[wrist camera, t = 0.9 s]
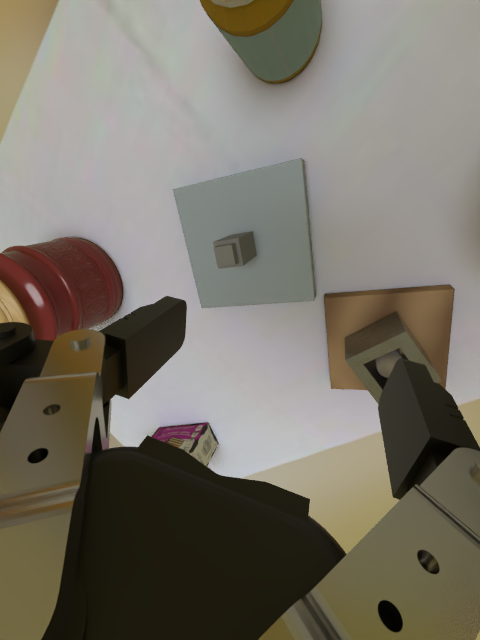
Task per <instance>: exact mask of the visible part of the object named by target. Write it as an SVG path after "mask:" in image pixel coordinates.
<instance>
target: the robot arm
mask: <svg viewBox="0 0 480 640" xmlns="http://www.w3.org/2000/svg"><path fill="white" fill-rule="evenodd" d="M186 310H187V305H186V302H185V301H184V300H181V299H177V298H173V297H169V296H166V297H164V298H162V299H161V300H159V301H157V302H156V303H154V304H151V305H147V306H143V307H140V308H138V309H136V310H135V311H133V312H131V314H128V315H126V316H124V317H123V318H121V319H119V320H117V321H116V322H114V323H112V324H111V325H109V326H107V327H106V328H104V329H102V330H100V331H99V332H98V331H95V330H89V329H81V330H74V331H70V332H67V333H64V334H62V335H60V336H59V337H57V338H56V339H55V340H54V341H51V340H40V339H35V338H34V334H33V329H32V327H31V326H30V325H29V324H26V323H22V322H5V323H0V640H475V639H476V637H477V634H478V633H479V631H480V447H479V446H478V444H477V442H476V440H475V438H474V436H473V434H472V432H471V431H470V429H469V427H468V425H467V423H466V421H465V420H463V416H462V414H461V412H460V410H458V406H457V405H456V403H455V401H454V399H453V397H452V395H450V394H449V393H448V392H447V391H446V390H445V389H444V388H443V387H442V386H441V385H440V384H439V383H435V382H433V379H432V377H431V375H430V373H429V371H428V369H427V367H426V365H424V364H420V363H417V362H413V361H409V360H405V359H402V358H400V359H398V360H397V362H396V363H395V365H394V367H393V369H392V372H391V374H390V376H389V378H388V380H387V382H386V385H385V387H384V389H383V391H382V393H381V396H380V400H379V406H378V411H379V417H380V423H381V429H382V435H383V441H384V447H385V453H386V459H387V465H388V471H389V476H390V483H391V489H392V495H393V497H394V498H397V499H399V500H400V501H399V502H398V503H397V504H396V505H395V506H394V507H393V508H392V509H391V510H390V511H389V512H388V513H387V514H386V515H385V516H384V517H383V518H382V519H381V520H380V521H379V522H378V523H377V524H376V525H375V527H373V528H372V529H371V530H370V531H369V532H368V533H367V534H366V535H365V536H364V538H363V539H361V540H360V541H359V543H358V544H357V545H356V546H355V547H354V548H353V549H352V550H351V551H350V552H349V553H348V554H346V553H345V551H344V550H343V549H342V548H341V547H340V545H339V544H338V543H337V541H336V540H335V539H334V538H333V537H332V536H331V535H330V534H329V533H328V532H327V531H326V529H324V528H323V527H322V526H321V525H320V524H319V523H317V522H316V521H315V520H314V519H312V518H311V517H310V516H308V512H309V503H310V499H308V498H305V497H303V496H300V495H298V494H295V493H293V492H290V491H287V490H284V489H282V488H280V487H277V486H275V485H272V484H270V483H267V482H261V481H255V480H247V479H240V478H233V477H226V476H221V475H218V474H216V473H215V472H213V471H212V470H211V469H209V468H208V467H206V466H205V465H204V464H202V463H201V462H200V461H198V460H197V459H196V458H194V457H193V456H191V455H190V454H189V453H187V452H186V451H185V450H183V449H181V448H178V447H176V446H173V445H170V444H168V443H165V442H163V441H160V440H158V439H155V438H153V437H150V436H148V435H147V437H146V438H145V439H144V440H143V442H142V443H141V444H140V446H139V447H118V448H117V447H116V448H110V449H109V436H110V421H111V398H112V397H113V396H114V395H119V396H122V397H125V398H127V399H129V398H130V397H131V396H132V395H133V394H134V393H135V392H137V391H138V390H139V389H140V388H141V387H142V386H143V385H144V384H145V383H146V382H147V381H148V380H149V379H150V378H151V377H152V376H153V375H154V374H155V373H156V372H157V371H158V370H159V369H160V368H161V367H162V366H163V365H164V364H165V363H166V362H167V361H168V360H169V359H170V358H171V357H172V356H173V355H174V354H175V353H176V352H177V351H178V350H179V349H180V348H181V346H182V344H183V342H184V339H185V329H186Z"/></svg>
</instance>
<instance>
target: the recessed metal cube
mask: <svg viewBox="0 0 480 640" xmlns="http://www.w3.org/2000/svg"><path fill="white" fill-rule="evenodd" d="M398 348H400V349H401V350H402V351H403V354H401V357H402V359H405V360H409V361H413V362H417V363H420V364H424V365H426V367H427V369H428V371H429V373H430V375H431V377H432V379H433V382H435V383H439V382H441V379H440V378H439V376H438V374H437V372H436V370H435V368H434V366H433V364H432V362H431V360H430V358H429V357H428V355H427V353H426V352H425V350H424V349H423V347H422V346H421V345H420V343H419V342H418V340H417V339H416V338H415V336H414V335H413V333H412V332H411V331H410V329H409V328H408V326H407V325H406V323H405V322H404V321H403V319H402V318H401V316H400V315H399V314H398V312H397V311H395V312H393V313H391V314H389V315H387V316H385V317H383V318H381V319H379V320H377V321H375V322H374V323H372V324H370V325H368V326H366V327H364V328H362V329H360V330H358V331H356V332H354V333H352V334H351V335H349V336H347V337H345V361H346V362H347V363H348V365H349V366H350V367H351V369H352V370H353V371H354V373H355V374H356V375H357V376H358V378H359V379H360V380H361V382H362V383H363V384H364V386H365V387H366V388H367V390H368V391H369V392H370V394H371V395H372V396H373V397H374V399H375V400H376V401H377V403H378V404H379V400H380V396H381V393H382V391H383V389H384V387H385V385H386V382H387V380H388V378H386V377H384V376H382V375H381V374H380V373H379V372H378V370H377V366H376V361H375V360H374V359H376V358H378V357H380V356H383V355H385V354H387V353H389V352H391V351H394V350H396V349H398Z"/></svg>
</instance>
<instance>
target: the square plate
mask: <svg viewBox="0 0 480 640" xmlns="http://www.w3.org/2000/svg"><path fill="white" fill-rule="evenodd" d="M173 192H174V196H175V201H176V205H177V209H178V213H179V217H180V221H181V225H182V229H183V233H184V237H185V242H186V246H187V250H188V254H189V258H190V262H191V266H192V270H193V274H194V278H195V282H196V287H197V291H198V295H199V299H200V303H201V307H202V308H211V307H226V306H241V305H255V304H270V303H285V302H299V301H314V300H315V296H316V290H315V279H314V268H313V257H312V246H311V234H310V223H309V212H308V201H307V189H306V178H305V167H304V160H303V159H302V158H300V159H296V160H292V161H288V162H284V163H280V164H276V165H272V166H267V167H263V168H259V169H255V170H251V171H247V172H243V173H239V174H235V175H231V176H226V177H222V178H218V179H214V180H210V181H206V182H202V183H198V184H194V185H190V186H185V187H181V188H177V189H173Z"/></svg>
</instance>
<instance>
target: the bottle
mask: <svg viewBox="0 0 480 640" xmlns="http://www.w3.org/2000/svg"><path fill="white" fill-rule="evenodd" d="M200 2H201V5H202V7H203V8H204V10H205V11H206V13H207V15H208V16H209V18H210V19H211V20H212V21H213V23H214V24H215V25H216V27H217V28H218V29H219V31H220V32H221V33H222V34H223V36H224V37H225V38H226V40H227V41H228V42H229V44H230V45H231V46H232V48H233V49H234V50H235V51H236V53H237V54H238V55H239V57H240V58H241V59H242V61H243V62H244V63H245V65H246V66H247V67H248V68H249V69H250V71H251V72H252V73H253V74H254V75H255V76H256V77H258V78H259V79H261V80H263V81H265V82H270V83H280V82H283V81H286V80H289V79H291V78H292V77H294V76H295V75H296V74H298V73H299V72H300V71H301V70H302V69H303V68H304V67H305V65H306V64H307V63H308V62H309V60H310V59H311V57H312V55H313V53H314V51H315V49H316V47H317V44H318V41H319V37H320V32H321V26H322V10H321V0H200Z"/></svg>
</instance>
